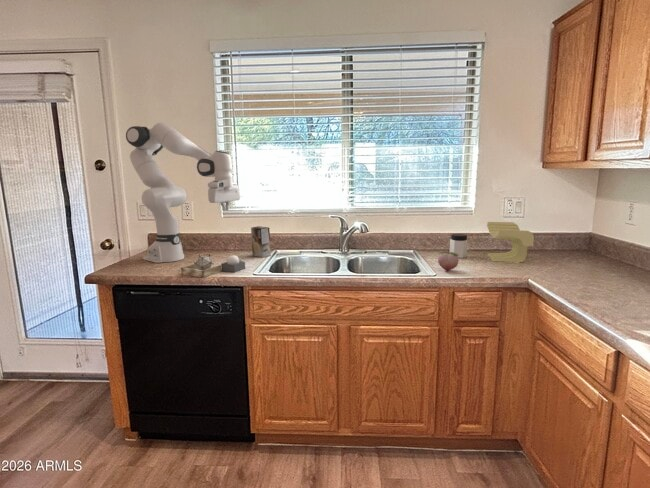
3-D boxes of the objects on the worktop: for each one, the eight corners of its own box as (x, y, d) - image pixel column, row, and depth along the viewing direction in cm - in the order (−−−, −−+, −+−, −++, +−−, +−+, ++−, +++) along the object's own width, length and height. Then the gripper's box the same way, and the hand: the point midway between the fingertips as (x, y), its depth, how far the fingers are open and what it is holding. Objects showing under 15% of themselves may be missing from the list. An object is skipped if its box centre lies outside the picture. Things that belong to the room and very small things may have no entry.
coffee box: (271, 255, 218) (270, 227, 215) (262, 257, 213) (261, 228, 210) (260, 253, 224) (259, 225, 220) (251, 255, 219) (250, 227, 216)
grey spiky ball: (206, 280, 184) (201, 267, 176) (193, 272, 187) (188, 258, 179) (219, 267, 189) (215, 254, 181) (206, 260, 192) (202, 246, 184)
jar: (469, 257, 208) (470, 235, 206) (455, 258, 206) (456, 236, 204) (460, 254, 216) (461, 233, 214) (446, 255, 215) (448, 233, 212)
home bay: (181, 274, 180) (181, 267, 180) (200, 268, 191) (199, 262, 190) (203, 277, 174) (203, 271, 174) (221, 271, 185) (221, 265, 184)
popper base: (221, 270, 186) (221, 263, 185) (232, 266, 193) (232, 260, 192) (234, 272, 183) (234, 265, 182) (245, 268, 190) (244, 261, 189)
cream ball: (224, 270, 186) (223, 256, 185) (232, 267, 192) (231, 253, 190) (234, 271, 184) (233, 257, 183) (242, 268, 189) (241, 254, 188)
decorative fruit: (459, 269, 184) (460, 248, 182) (457, 273, 177) (458, 252, 175) (438, 267, 188) (439, 247, 186) (436, 271, 181) (437, 250, 179)
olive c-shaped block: (531, 267, 187) (534, 230, 184) (495, 265, 191) (498, 230, 187) (515, 254, 216) (518, 222, 213) (485, 252, 219) (487, 221, 216)
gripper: (232, 182, 208) (234, 208, 211) (205, 184, 190) (207, 212, 193) (242, 182, 205) (243, 208, 208) (215, 184, 187) (216, 212, 190)
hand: (225, 210), depth 200 cm, fingers closed
